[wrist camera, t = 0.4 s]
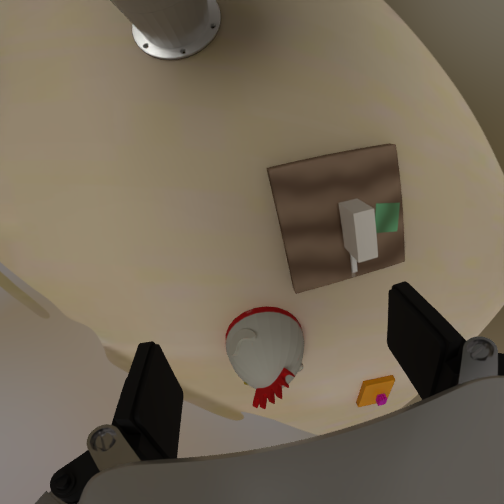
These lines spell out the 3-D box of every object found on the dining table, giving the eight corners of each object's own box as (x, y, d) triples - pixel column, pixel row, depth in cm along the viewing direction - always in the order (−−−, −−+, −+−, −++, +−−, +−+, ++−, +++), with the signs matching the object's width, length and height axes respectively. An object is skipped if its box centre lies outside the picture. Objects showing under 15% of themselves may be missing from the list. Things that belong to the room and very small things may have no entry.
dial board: (266, 168, 42) (268, 170, 40) (389, 143, 42) (396, 144, 40) (293, 287, 50) (295, 293, 48) (399, 256, 50) (404, 261, 48)
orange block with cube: (355, 401, 66) (360, 413, 62) (362, 379, 62) (368, 392, 59) (383, 394, 66) (389, 406, 62) (391, 373, 63) (399, 385, 59)
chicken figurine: (209, 341, 53) (207, 404, 40) (263, 292, 50) (277, 352, 36) (264, 374, 58) (274, 434, 44) (316, 333, 55) (340, 391, 41)
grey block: (335, 200, 43) (353, 213, 37) (354, 196, 43) (374, 208, 36) (345, 272, 47) (361, 293, 41) (361, 267, 47) (379, 287, 41)
